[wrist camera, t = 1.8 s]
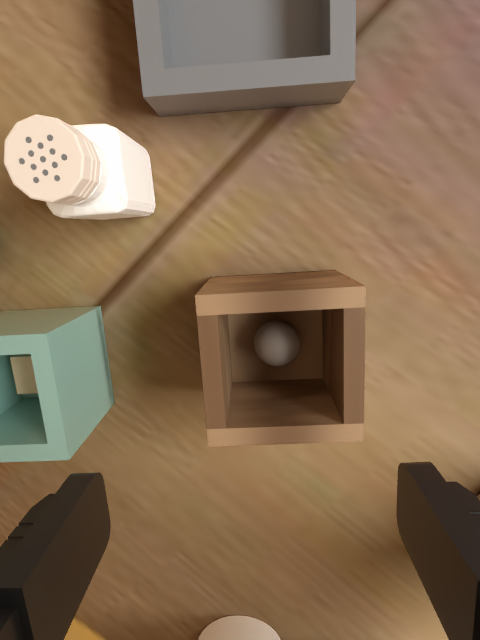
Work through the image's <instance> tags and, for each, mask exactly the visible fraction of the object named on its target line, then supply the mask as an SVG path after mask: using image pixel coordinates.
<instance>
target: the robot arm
mask: <svg viewBox="0 0 480 640" xmlns="http://www.w3.org/2000/svg"><path fill="white" fill-rule="evenodd" d="M397 523H398V528H399V532H400V536H401V538H402V541H403V543H404V545H405V547H406V549H407V552H408V554H409V556H410V558H411V560H412V562H413V564H414V566H415V569H416V571H417V573H418V575H419V577H420V579H421V581H422V583H423V586H424V588H425V590H426V592H427V594H428V596H429V598H430V600H431V603H432V605H433V607H434V609H435V611H436V613H437V615H438V617H439V620H440V622H441V624H442V626H443V628H444V630H445V632H446V634H447V637H448V639H449V640H480V494H479V495H478V496H476V495H475V494H473V493H472V492H470V491H469V490H467V489H466V488H464V487H463V486H462V485H460V484H459V483H457V482H446V481H445V479H444V478H443V477H442V475H441V474H440V473H439V471H438V470H437V469H436V467H435V466H434V465H433V464H432V463H431V462H413V463H400V464H399V467H398V485H397ZM109 536H110V516H109V510H108V504H107V498H106V491H105V485H104V480H103V476H102V474H101V473H75V474H71V475H69V477H68V478H67V479H66V480H65V482H64V483H63V484H62V486H61V487H60V489H59V490H58V491H57V493H56V494H49V495H48V496H46V497H45V498H44V499H42V500H41V501H40V502H38V503H37V504H36V505H34V506H33V507H32V508H31V509H30V510H29V511H28V513H27V514H26V515H25V516H24V518H23V519H22V520H21V522H20V523H19V526H18V527H16V528H15V529H14V530H13V532H12V533H11V534H10V535H9V537H8V540H5V542H4V543H3V544H2V545H1V547H0V640H64V638H65V635H66V633H67V631H68V629H69V627H70V625H71V622H72V620H73V618H74V616H75V614H76V612H77V610H78V607H79V605H80V603H81V601H82V599H83V597H84V594H85V592H86V590H87V588H88V586H89V584H90V582H91V579H92V577H93V575H94V573H95V571H96V569H97V566H98V564H99V562H100V560H101V558H102V556H103V553H104V551H105V549H106V547H107V544H108V541H109Z"/></svg>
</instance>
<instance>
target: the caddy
mask: <svg viewBox="0 0 480 640" xmlns="http://www.w3.org/2000/svg"><path fill="white" fill-rule="evenodd" d="M133 7H134V17H135V26H136V36H137V45H138V55H139V64H140V73H141V83H142V92H143V98H144V99H145V100H146V101H147V102H148V104H149V105H150V106H151V107H152V108H153V109H154V111H155V112H156V113H157V114H158V115H159V116H160V117H161V116H174V115H187V114H200V113H213V112H226V111H239V110H252V109H265V108H278V107H291V106H304V105H317V104H330V103H340V102H341V100H342V99H343V97H344V96H345V95H346V93H347V92H348V90H349V89H350V87H351V86H352V84H353V83H354V81H355V40H356V0H133Z"/></svg>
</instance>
